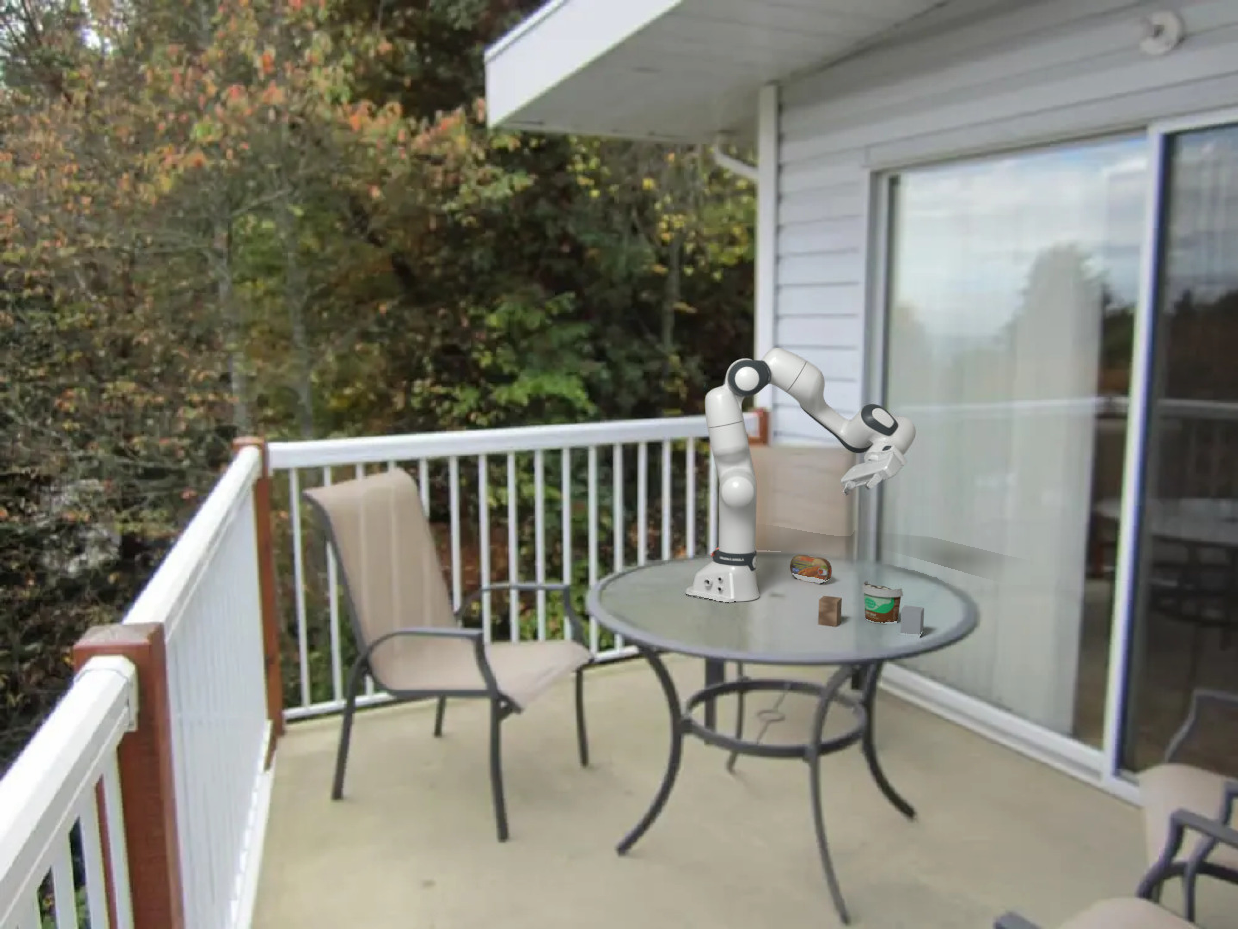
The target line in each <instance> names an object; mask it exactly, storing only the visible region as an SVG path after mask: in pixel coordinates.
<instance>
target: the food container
mask: <svg viewBox="0 0 1238 929" xmlns="http://www.w3.org/2000/svg"><path fill="white" fill-rule="evenodd" d="M868 582H869V581H868V580H865V581H864V582H863V584H862V586H861V591H860V592H862V593H863V602H864V615H865V616H864V617H865V618H866V619H868V620H871V621H874V622H880V623H881V622H883V623H885V622H894V621H897V620H898V621H899V612H900V607H901V606H900V605H901V598H902V597H904V592H903V588H895V589H893V588H889V587H886V586H883V585H873V584H870V583H868ZM865 618H864V619H865ZM866 619H865V620H866Z"/></svg>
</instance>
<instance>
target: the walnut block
mask: <svg viewBox="0 0 1238 929" xmlns="http://www.w3.org/2000/svg"><path fill="white" fill-rule="evenodd" d="M842 600H843V598H842V597H839V596H830V595H823V596H822V597H821V598H819V599H818V618H817V619H818V620H817V623H818V624H817V625H819V626H826V627H832V628H837V627H838V626H839V625H840V624H841V623H842V604H843V603H842Z"/></svg>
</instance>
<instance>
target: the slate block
mask: <svg viewBox="0 0 1238 929" xmlns="http://www.w3.org/2000/svg"><path fill="white" fill-rule="evenodd" d="M924 618H925V607H921V606H912V605H904V606H903V607H902V609H901V610H900V628H899V629H900V630H899V631H900V633H905V634H906V633H907V634H918V635H919V634H921V632H922V631H923V632H924V624H925V623H924Z"/></svg>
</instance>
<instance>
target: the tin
mask: <svg viewBox="0 0 1238 929" xmlns="http://www.w3.org/2000/svg"><path fill="white" fill-rule="evenodd" d="M789 570H790V573H791V574H792V573H794V574H798V575H802V576H807V577H815V578H819V579H823V580H825V581H826V580H828V579H829V580H830V579H831V577H832V574H833V570H832V565H831V563H830V561H829V560H827V559H826V558H823V557H819V556H813V555H808V554H796V555H795V556H793V557H792V558H791V561H790V563H789ZM829 580H828V581H829Z"/></svg>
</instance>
